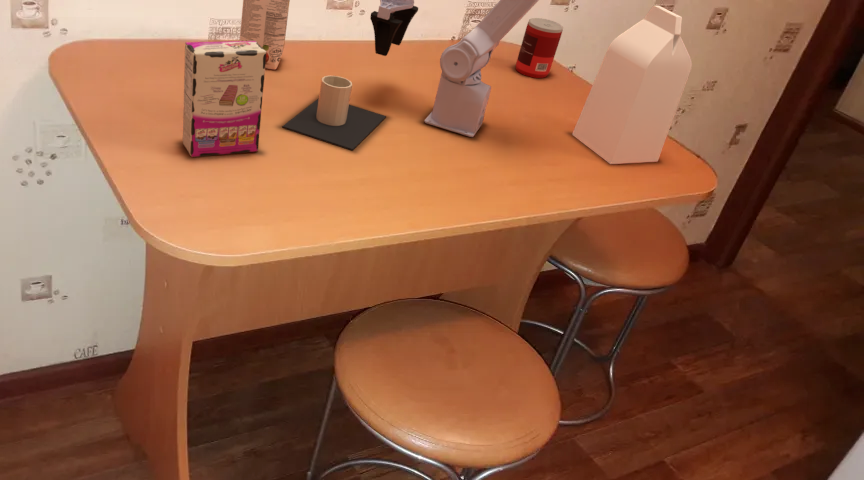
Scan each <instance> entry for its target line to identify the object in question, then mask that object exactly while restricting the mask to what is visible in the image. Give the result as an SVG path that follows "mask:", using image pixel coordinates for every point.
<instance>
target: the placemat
mask: <svg viewBox="0 0 864 480" xmlns="http://www.w3.org/2000/svg"><path fill="white" fill-rule="evenodd" d="M318 100H319V97H318V98H317V99H315V100H314V101H313V102H312V103H310V104H309V105H308V106H306V107H305V108H303V110H301V111H300V112H299V113H297V114H296V115H295V116H293V117H292V118H290V120H288V121H287V122H286V123H284V124H283V125H282V126H281V127H282V129H285V130H288V131H290V132H294V133H297V134H300V135H302V136H306V137H309V138H313V139H316V140H319V141H322V142H324V143H328V144H331V145H334V146H336V147H340V148H343V149H346V150H349V151H354V150H355V149H356V148H357V147H358V146H359V145H360V144H361V143H362V142H363V141H364V140H365V139H366V138H367V137H368V136H369V135H370V134H371V133H372V132H373V131H374V130H376V128H377V127H378V126H379V125H380V124H381V123H382V122H383V121H384V120H385V119H386V118H387V116H386V115H384V114H381V113H379V112H378V113H377V112H374V111H371V110H368V109H365V108H362V107H358V106H355V105H352V104H349V107H348V113H347V119H346V123H345V124H343V125H340V126H331V125H326V124H323V123H321V122H319V121H318V120H317V118H316V114H317V107H318Z"/></svg>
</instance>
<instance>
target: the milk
mask: <svg viewBox="0 0 864 480" xmlns="http://www.w3.org/2000/svg"><path fill="white" fill-rule="evenodd" d="M682 22H683V16H681V15H679V14H677V13H675V12H673V11H671V10H668V9H666V8H665V7H663V6H661V5H653V6H652V7H651V8H650V9H649V11H648V12H647V13H646V14H645V16H644V17H643V19H641V20H639V21H638V22H636V23H634V25H632V26H631V27H629V28H628V29H626V30H625V31H623V32H622V33H620V34H619V35H618V36H616V37H615V38H614V39H613V40H612V41H611V42H610V44H609V45H608V48H607V50H606V51H605V55H604V57H603V59H602V61H601V64H600V67H599V69H598V71H597V74H596V76H595V79H594V80H593V83H592V86H591V88H590V90H589V93H588V94H587V96H586V100H585V102H584V105H583V106H582V110H581V111H580V115H579V117H578V119H577V121H576V124H575V126H574V129H573V131H572V134H571V135H572V137H574V138H576V139H577V140H578V141H580V142H581V143H582V144H583V145H585V147H588V149H590V150H591V151H593V152H594V153H595V154H597V156H599V157H600V158H601V159H603V160H604V161H606V162H607V163H608V164H610V165H618V164H620V165H622V164H637V163H639V164H640V163H655V162H656V163H658V162H659V159H660V157H661V153H662V151H663V148H664V145H665V143H666V140H667V137H668V135H669V131H670V129H671V126H672V123H673V121H674V118H675V115H676V113H677V110H678V107H679V104H680V101H681V99H682V97H683V94H684V90H685V88H686V85H687V82H688V79H689V77H690V74H691V71H692V69H693V62H692V57H691V55H690V53H689V51H688V48H687V47H686V45H685V42H684V41H683V38H682V36H681V35H682V32H681V31H682Z"/></svg>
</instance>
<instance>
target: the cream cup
mask: <svg viewBox="0 0 864 480" xmlns="http://www.w3.org/2000/svg"><path fill="white" fill-rule="evenodd" d="M320 80H321V81H320V88H319V93H318V98H319V100H318V107H317V114H316V118H317V120H318V121H319V122H321V123H323V124H326V125H331V126H340V125H343V124H345V123H346V119H347V113H348V107H349V105H350V100H351V95H352V90H353V82H352V81H351V80H350V79H348V78H346V77H343V76H339V75H330V74H329V75H324V76H323V77H322V78H321V79H320Z"/></svg>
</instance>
